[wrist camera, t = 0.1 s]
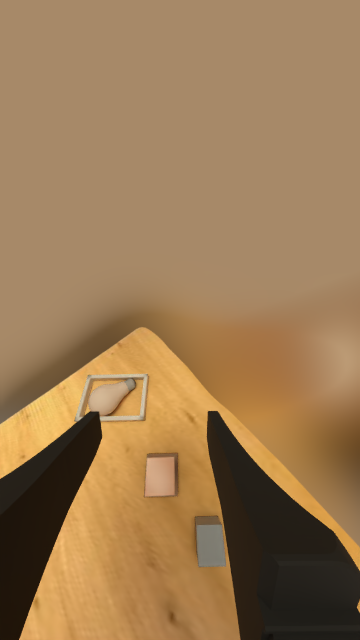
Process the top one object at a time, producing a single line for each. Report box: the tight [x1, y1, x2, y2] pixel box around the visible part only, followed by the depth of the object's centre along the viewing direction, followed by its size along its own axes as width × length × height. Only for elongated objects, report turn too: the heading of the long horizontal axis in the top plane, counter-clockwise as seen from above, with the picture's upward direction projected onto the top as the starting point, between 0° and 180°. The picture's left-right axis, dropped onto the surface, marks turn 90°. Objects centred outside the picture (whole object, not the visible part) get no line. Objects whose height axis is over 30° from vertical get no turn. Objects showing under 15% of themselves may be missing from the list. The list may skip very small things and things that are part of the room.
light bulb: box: [88, 378, 136, 416], centre depth 40 cm, size 7×7×11 cm
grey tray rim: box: [74, 374, 149, 422], centre depth 41 cm, size 10×15×2 cm
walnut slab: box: [144, 453, 178, 497], centre depth 33 cm, size 6×6×2 cm
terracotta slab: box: [145, 456, 175, 496], centre depth 31 cm, size 5×5×2 cm
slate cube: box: [195, 516, 226, 567], centre depth 28 cm, size 4×4×4 cm
